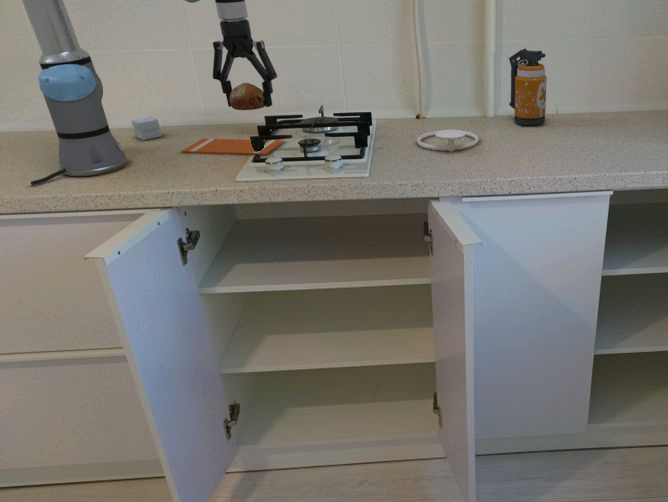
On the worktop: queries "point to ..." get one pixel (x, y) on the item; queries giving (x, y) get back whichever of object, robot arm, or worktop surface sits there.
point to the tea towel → (231, 147)
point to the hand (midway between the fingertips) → (250, 105)
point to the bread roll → (247, 97)
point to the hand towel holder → (449, 136)
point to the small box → (146, 128)
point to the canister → (528, 87)
